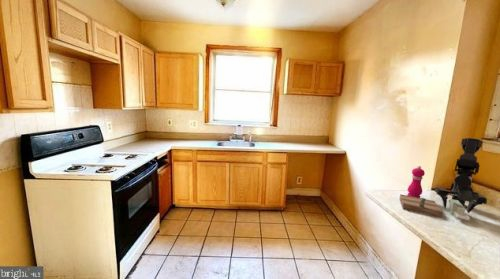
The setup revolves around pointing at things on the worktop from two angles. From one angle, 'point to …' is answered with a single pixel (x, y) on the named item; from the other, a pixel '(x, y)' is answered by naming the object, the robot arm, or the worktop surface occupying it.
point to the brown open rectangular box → (420, 205)
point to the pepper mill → (416, 183)
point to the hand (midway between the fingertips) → (456, 210)
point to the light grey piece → (458, 210)
